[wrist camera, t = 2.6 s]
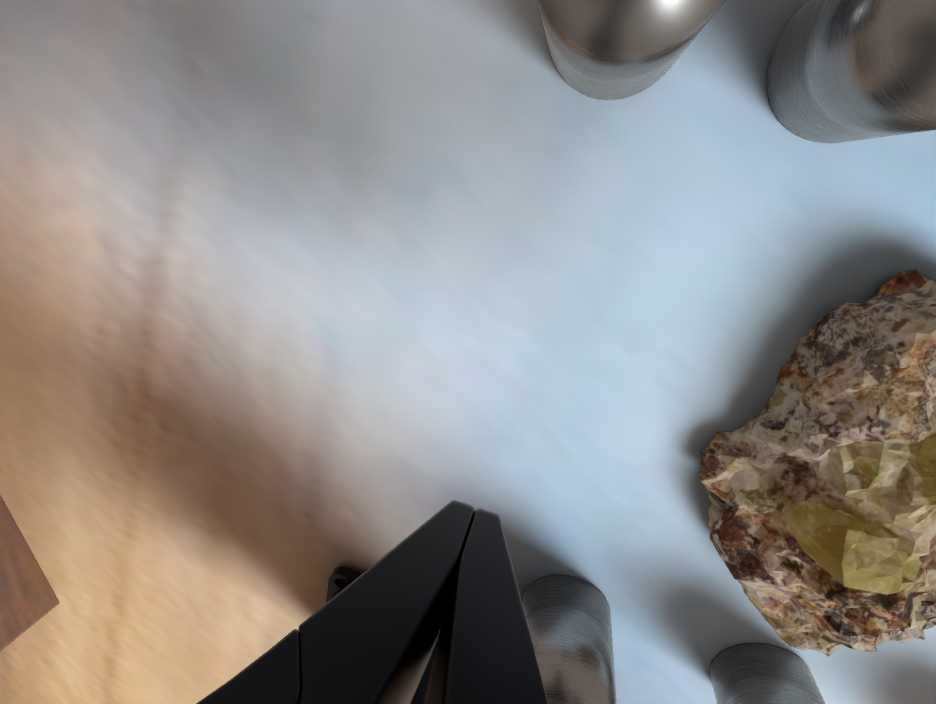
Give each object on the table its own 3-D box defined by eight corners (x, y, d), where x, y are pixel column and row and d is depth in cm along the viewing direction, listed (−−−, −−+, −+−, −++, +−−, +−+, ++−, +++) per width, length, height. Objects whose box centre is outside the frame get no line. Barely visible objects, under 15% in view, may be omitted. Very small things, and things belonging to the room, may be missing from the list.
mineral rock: (1039, 702, 12) (737, 714, 11) (884, 570, 16) (660, 576, 15) (1294, 292, 8) (866, 292, 8) (1009, 259, 12) (721, 258, 12)
